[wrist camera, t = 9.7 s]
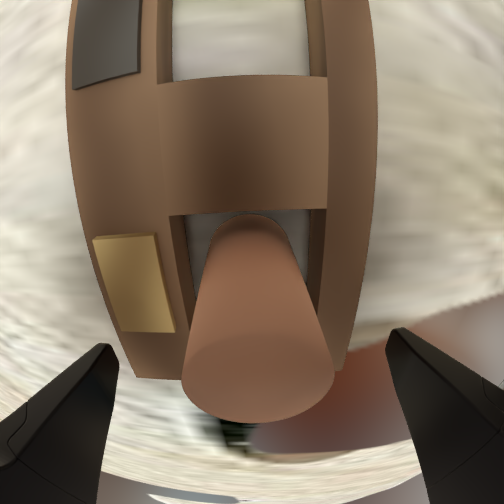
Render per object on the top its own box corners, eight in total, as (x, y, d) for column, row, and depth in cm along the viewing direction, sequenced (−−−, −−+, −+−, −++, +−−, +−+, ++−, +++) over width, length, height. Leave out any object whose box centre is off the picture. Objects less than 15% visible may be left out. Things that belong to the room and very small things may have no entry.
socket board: (334, -57, 6) (350, -83, 4) (331, 341, 17) (343, 375, 14) (104, -39, 6) (82, -59, 4) (145, 349, 17) (135, 382, 14)
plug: (290, 212, 13) (347, 324, 6) (289, 285, 15) (323, 416, 8) (205, 216, 13) (164, 334, 6) (213, 288, 15) (196, 423, 7)
